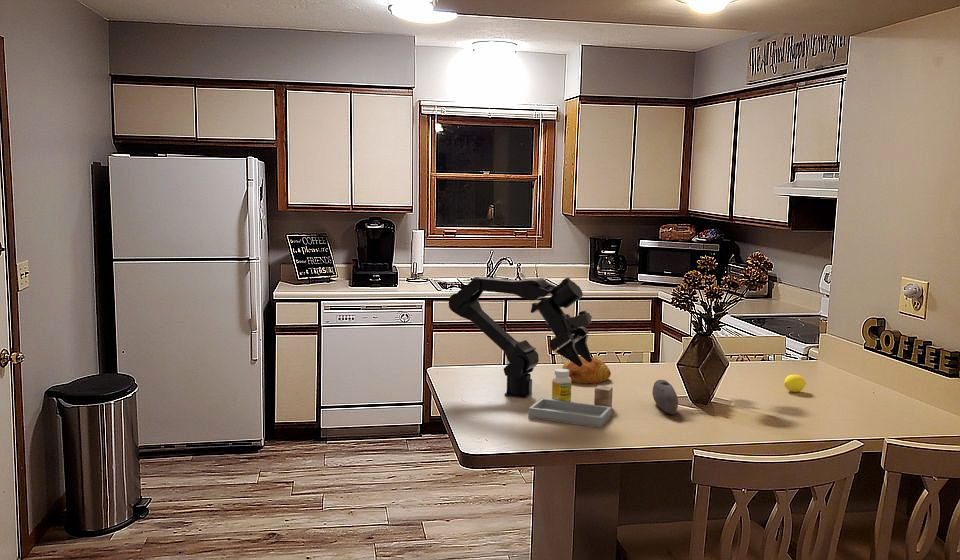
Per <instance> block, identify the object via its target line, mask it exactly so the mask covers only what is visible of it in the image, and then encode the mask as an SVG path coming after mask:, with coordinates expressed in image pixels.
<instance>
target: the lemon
mask: <svg viewBox="0 0 960 560" xmlns="http://www.w3.org/2000/svg"><path fill="white" fill-rule="evenodd" d="M783 384H784V387H785V389H787V390H788V391H789V392H791V393H798V392H801V391H803V390H804V389H805V388H806V385H807V383H806V380H805V379H804V377H803V376H801V375H799V374H790V375H787V377H786V378H785V379H784V383H783Z"/></svg>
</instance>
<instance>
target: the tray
mask: <svg viewBox="0 0 960 560" xmlns="http://www.w3.org/2000/svg"><path fill="white" fill-rule="evenodd" d="M611 417H612V408H611V407H606V406H598V405H594V404H589V403H581V402H574V401H571V402H568V401H560V400H552V398H545V397H541V398H539V400H537V401H536V402H535V403H533V404H532V405H531V406H530V407H528V418H529V419H537V420H542V421H543V420H544V421H550V422H556V423H557V422H558V423H564V424H571V425H578V426H583V427H584V426H586V427H592V428H600V429H601V428H602V427H603V426H605V424H606V423H607V422H608V421H609V420H610V419H611Z"/></svg>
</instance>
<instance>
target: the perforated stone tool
mask: <svg viewBox="0 0 960 560" xmlns="http://www.w3.org/2000/svg"><path fill="white" fill-rule="evenodd" d="M652 398H653V400H654V402H655V404H656V406H657V407H658V408H660V410H662V411H663V412H665V413H667V414H669V415H673V414H676V412H677V411H678V406H679V399H678V395H677V392H676V391H675V388H674V386H673V385H672V384H671V383H669V381H667V380H665V379H658V380H656V381H655V382H654V384H653V385H652Z"/></svg>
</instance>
